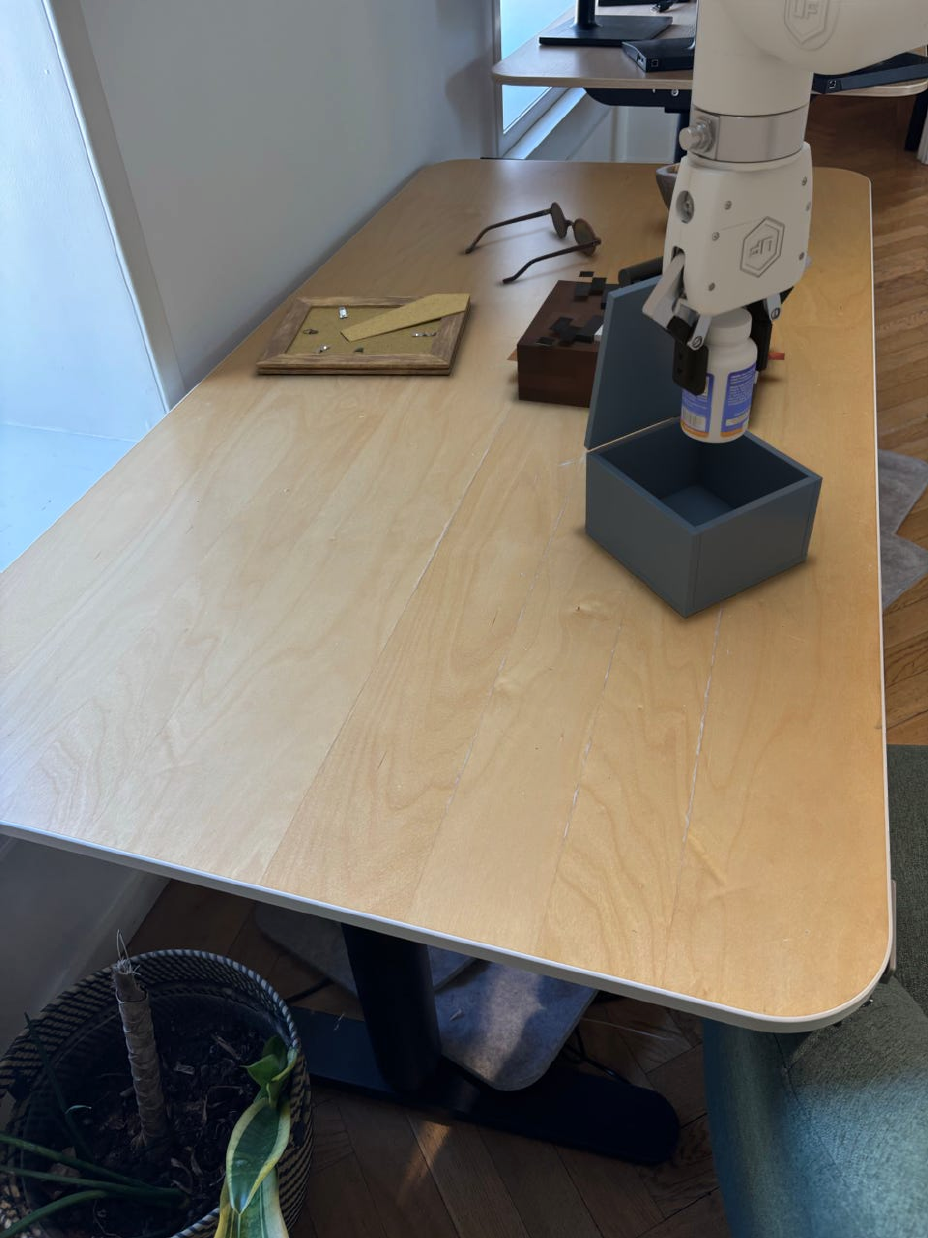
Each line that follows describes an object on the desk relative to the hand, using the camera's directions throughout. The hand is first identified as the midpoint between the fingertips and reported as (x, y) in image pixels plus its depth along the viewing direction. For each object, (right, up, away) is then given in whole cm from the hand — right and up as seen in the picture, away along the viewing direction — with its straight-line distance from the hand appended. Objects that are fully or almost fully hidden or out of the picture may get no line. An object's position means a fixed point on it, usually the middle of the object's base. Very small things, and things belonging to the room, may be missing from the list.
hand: (719, 373), depth 78 cm
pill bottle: (0, -4, +3) cm, 5 cm away
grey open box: (+1, -13, +13) cm, 18 cm away
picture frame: (-32, +16, +48) cm, 60 cm away
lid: (-3, +3, +5) cm, 6 cm away
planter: (+18, +37, +66) cm, 78 cm away
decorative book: (+1, +9, +36) cm, 37 cm away
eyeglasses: (-11, +32, +64) cm, 72 cm away
